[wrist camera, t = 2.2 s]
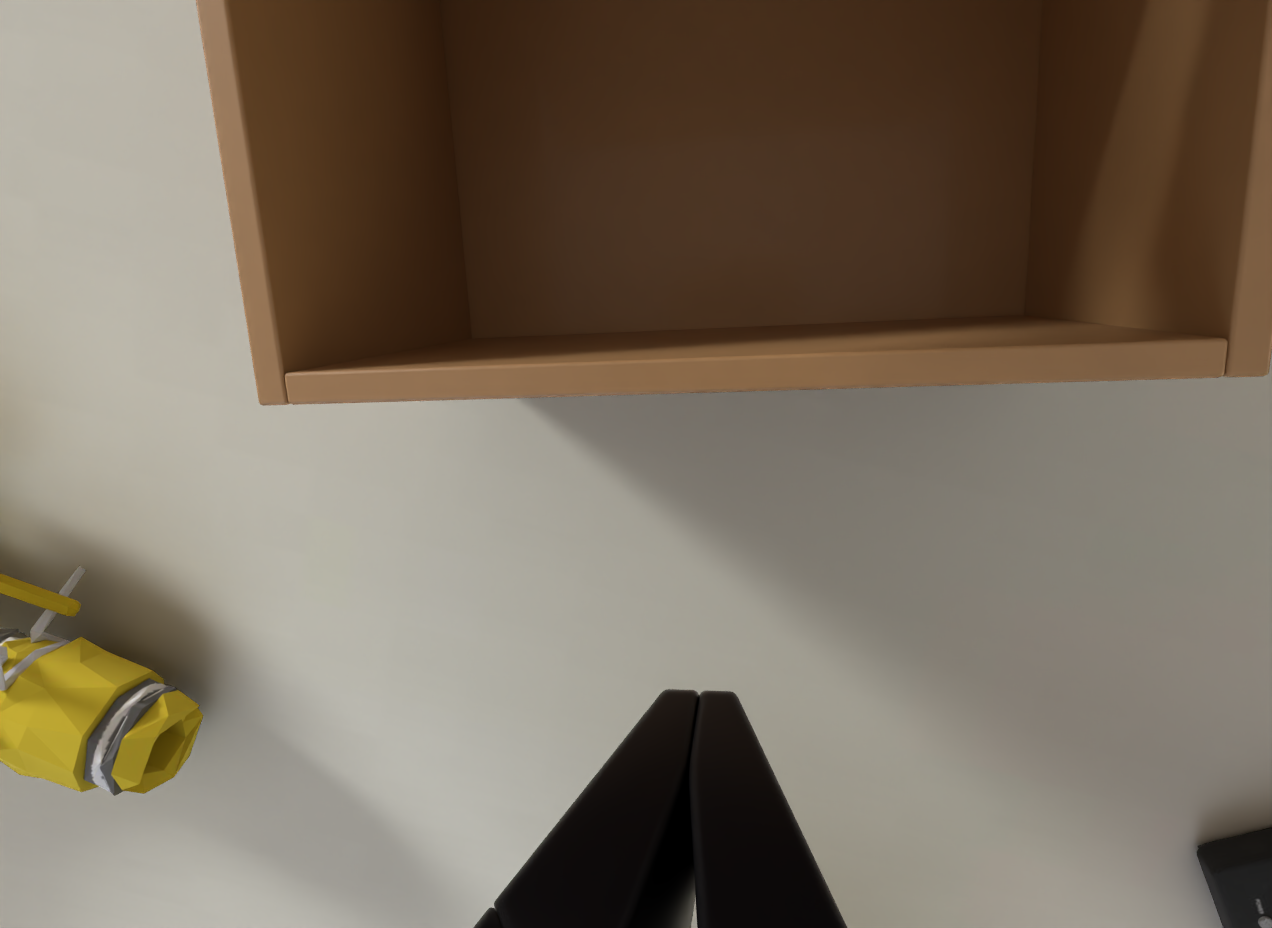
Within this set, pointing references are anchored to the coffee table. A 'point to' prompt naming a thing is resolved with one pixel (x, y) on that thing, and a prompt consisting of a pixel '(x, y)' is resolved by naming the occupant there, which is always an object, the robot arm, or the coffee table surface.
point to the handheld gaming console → (1240, 878)
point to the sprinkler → (85, 707)
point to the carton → (742, 193)
